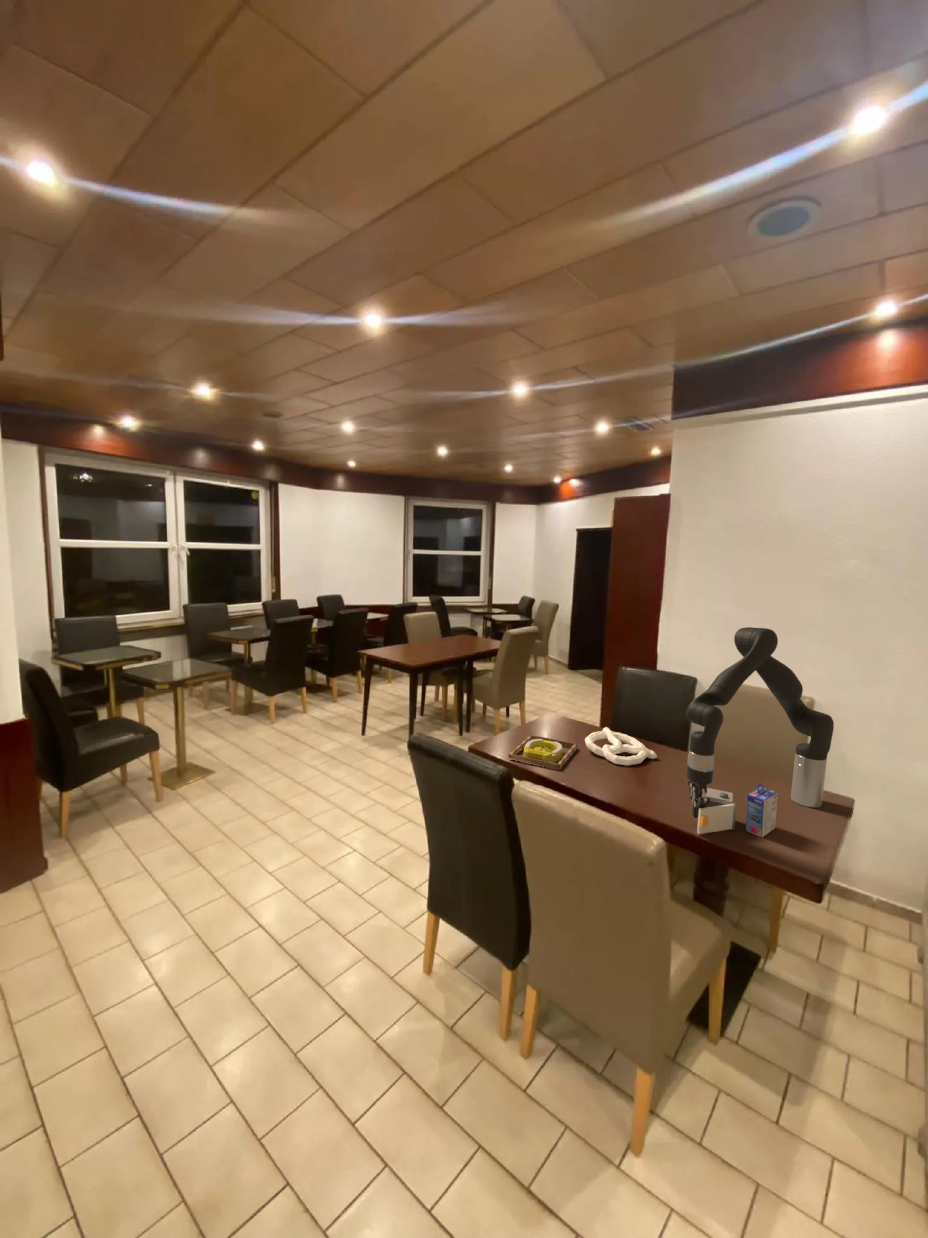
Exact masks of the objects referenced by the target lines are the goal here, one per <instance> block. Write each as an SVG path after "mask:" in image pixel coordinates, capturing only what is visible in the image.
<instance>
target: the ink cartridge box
mask: <svg viewBox="0 0 928 1238" xmlns="http://www.w3.org/2000/svg"><path fill="white" fill-rule="evenodd" d="M778 795H779V793H778V791H775V790H772V789H769V788H766V787H764V785H763V784H762V783H761V782H760V783H758V784H756V785H755V790H754V791H752V792H750V793H748V794H747V800H746V813H745V814H746V815H745V816H746V817H745V818H746V819H745V821H746V822H745V831H746V832H748V833H750V834H753V835H755V836H758V837H760V838H763V837H765V836H766V835H767V834H769V833H770V832H772V831H773V830H775V829H776V825H777V824H776V821H777V807H778Z"/></svg>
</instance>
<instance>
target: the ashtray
mask: <svg viewBox="0 0 928 1238" xmlns="http://www.w3.org/2000/svg"><path fill="white" fill-rule="evenodd" d="M523 756H524V757H529V758H534V759H539V760H543V761H548V762H553V763H555V762H556V763H557V761H558V760H559V761H560V759H562V757H564V747H562V745H561V744H560V743H558V742H553V741H547V740H543V739H535V740H531V741H528V742H527V743H526V745H525V747H524V749H523ZM559 761H558V762H559Z"/></svg>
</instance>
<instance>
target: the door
mask: <svg viewBox="0 0 928 1238" xmlns="http://www.w3.org/2000/svg"><path fill="white" fill-rule="evenodd" d="M736 814H737V804H736V803H735V802H734V803H732V804H728V805H721V806H714V807H706V808H699V814H698V818H697V827H696V833H697V834H698V835H701V834H707V833H708V834H709V833H715V832H722V831H728V830H732V831H734V830H735V825H736Z"/></svg>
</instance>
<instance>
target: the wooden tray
mask: <svg viewBox="0 0 928 1238" xmlns="http://www.w3.org/2000/svg"><path fill="white" fill-rule="evenodd" d="M532 739H533V740H535V739H543V740H547V741H553V742H558V743H560V744H561V745H562V746H566V747H568V748H567V749H569V750H568V751H567V752H566V753H565V754H564V755H563V758H562V759H561V760H559V761H558V763H557V762H556V763H553V762H548V761H543V760H539V759H534V758H529V757H524V755H519V754H517V755H515V754H516V752H518V751H519V750H520V749H521V748H523V746H525V745H526V743H527V742H528V741H530V740H532ZM566 747H565V748H566ZM577 749H578V743H576V742H572V741H566V740H562V739H561V740H560V739H556V738H551V737H545V736H541V735H540V736H538V735H533V734H530V735H529V736H527V737H526V738H525V739H524V740H523V741H522V742H521V743H520V744H518V745H517V746H516V747H515V748H514V749H513V750H512V751H510V752H509V753H508V757H509V758H511V759H516V760H522V761H524V762H528V763H532V764H535V765H539V766H544V767H546V768H545V769H548V768H550V770H553V769H555V770H554V771H558V770H559V771H560V770H561V769H562V768H563V767H564V766H565V765H566V763H567V762H568V761H569V760H570V758H571V757H572V756H573V754H574V753H575V752H576V751H577ZM567 760H568V761H567ZM563 765H564V766H563ZM539 766H538V767H539ZM562 766H563V767H562ZM544 767H543V768H544Z"/></svg>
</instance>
